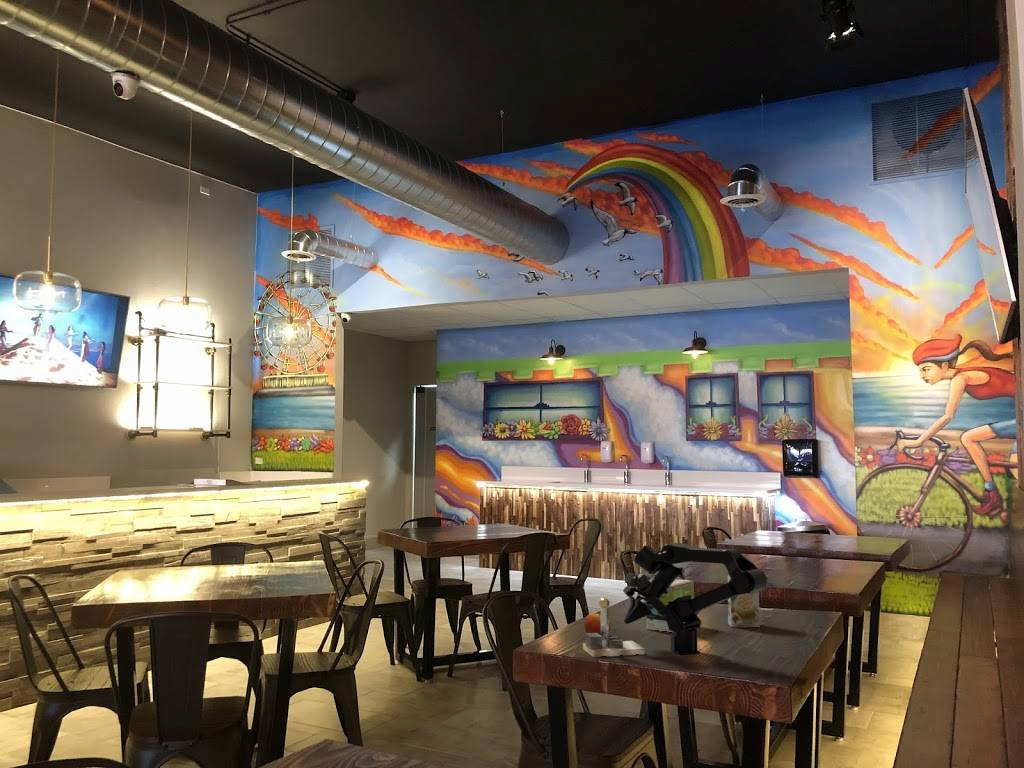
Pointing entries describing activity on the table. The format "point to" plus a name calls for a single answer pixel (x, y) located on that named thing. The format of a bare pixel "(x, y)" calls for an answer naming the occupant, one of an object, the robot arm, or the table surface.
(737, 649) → the table surface
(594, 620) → the fruit
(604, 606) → the gold knob lever
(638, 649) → the board
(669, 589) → the tea box
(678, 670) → the table surface
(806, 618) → the table surface
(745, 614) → the coffee box
